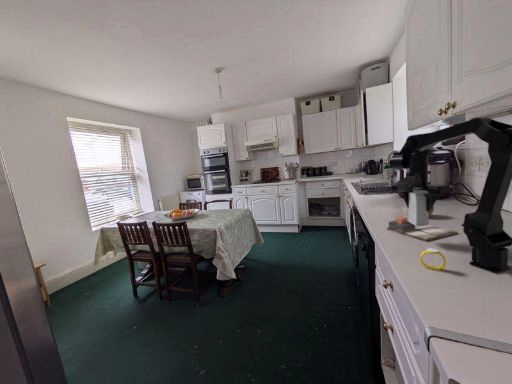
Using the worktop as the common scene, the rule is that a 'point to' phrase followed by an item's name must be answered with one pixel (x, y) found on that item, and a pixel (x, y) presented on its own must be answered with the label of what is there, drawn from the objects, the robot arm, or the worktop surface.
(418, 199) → the skincare box
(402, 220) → the button
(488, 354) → the worktop surface
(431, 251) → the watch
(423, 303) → the worktop surface
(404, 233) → the square tray
